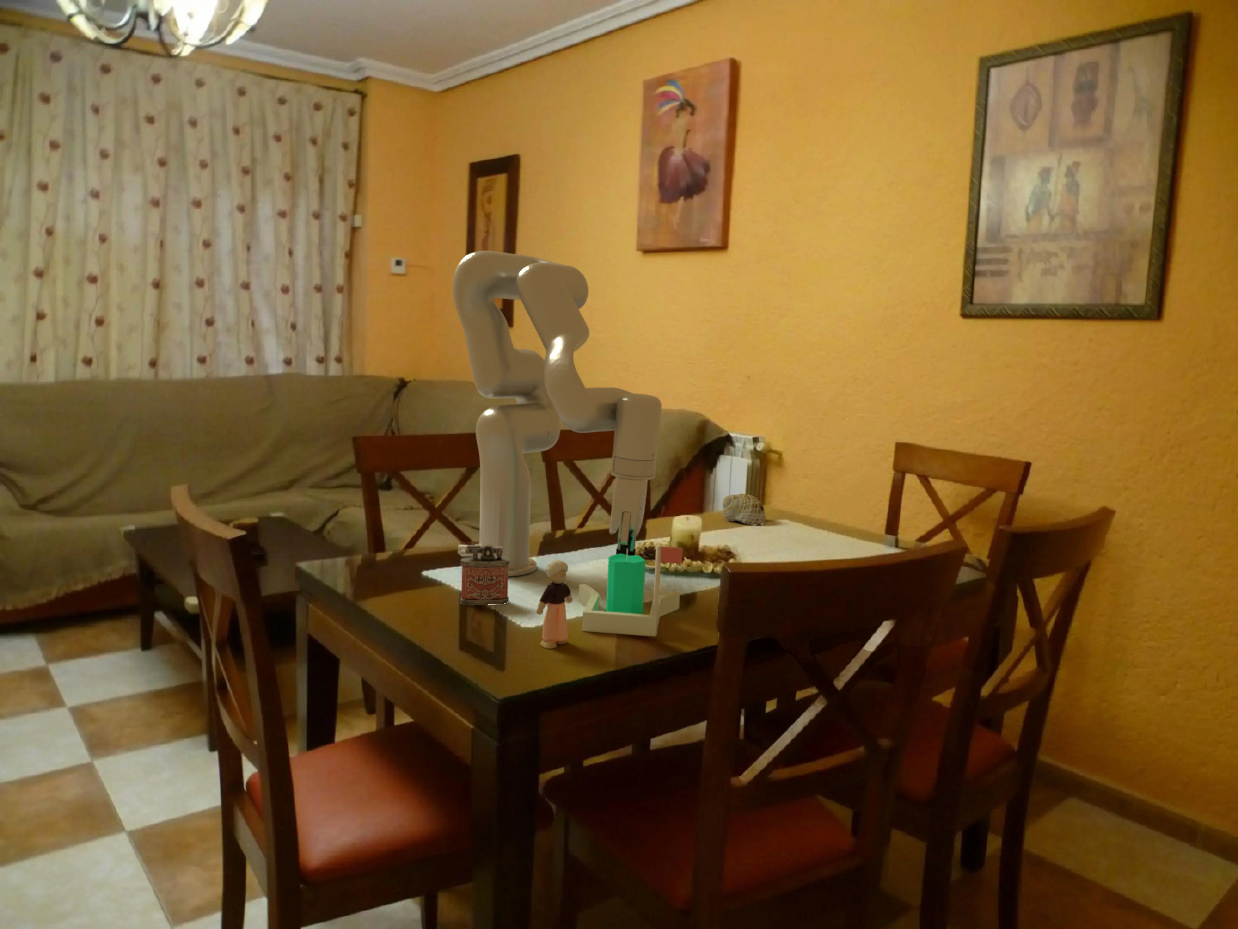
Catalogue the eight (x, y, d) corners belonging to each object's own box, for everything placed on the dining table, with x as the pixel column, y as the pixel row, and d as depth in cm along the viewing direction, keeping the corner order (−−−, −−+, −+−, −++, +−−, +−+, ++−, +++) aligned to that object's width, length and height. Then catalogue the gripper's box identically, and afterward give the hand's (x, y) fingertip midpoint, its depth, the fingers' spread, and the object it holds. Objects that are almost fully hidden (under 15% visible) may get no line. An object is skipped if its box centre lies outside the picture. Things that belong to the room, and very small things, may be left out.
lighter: (508, 599, 155) (509, 542, 154) (509, 605, 152) (510, 547, 150) (460, 600, 154) (461, 542, 152) (460, 605, 150) (461, 547, 149)
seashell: (775, 522, 226) (762, 488, 223) (742, 540, 224) (729, 506, 221) (756, 512, 235) (743, 479, 232) (724, 529, 233) (711, 496, 230)
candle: (639, 629, 142) (643, 554, 140) (602, 625, 143) (605, 551, 141) (645, 617, 148) (648, 546, 146) (609, 614, 149) (612, 543, 147)
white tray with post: (563, 629, 140) (566, 541, 138) (579, 600, 156) (582, 520, 154) (677, 638, 139) (682, 549, 137) (682, 608, 154) (686, 527, 152)
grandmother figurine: (554, 652, 130) (557, 567, 128) (531, 648, 132) (533, 563, 130) (578, 637, 137) (581, 555, 135) (556, 633, 139) (558, 552, 137)
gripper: (617, 457, 161) (608, 557, 164) (605, 472, 146) (596, 581, 150) (659, 462, 160) (649, 562, 163) (651, 477, 146) (641, 586, 149)
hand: (624, 570), depth 156 cm, fingers closed
